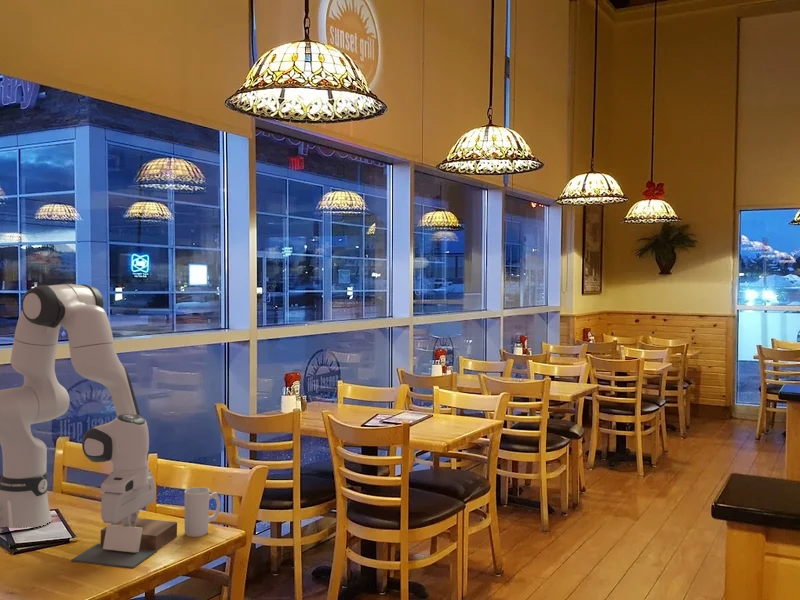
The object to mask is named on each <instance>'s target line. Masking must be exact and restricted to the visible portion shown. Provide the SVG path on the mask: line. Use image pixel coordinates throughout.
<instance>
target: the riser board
mask: <svg viewBox="0 0 800 600" xmlns="http://www.w3.org/2000/svg"><path fill="white" fill-rule="evenodd" d="M109 525H121V526H124V524H123V522H122V520H121V521H119V522H117V523H116V524H110V523H109ZM136 527H140V528H143V530H142V536H141V542H140V547H139V549H148V550H157V551H158V550H160V549H161V548H162V546H163V547H164V546H165V545H167V544H168V543H170V542H171V541H173V540H174V539H176V538H177V537H178V521H170V520H169V521H168V520H161V519H160V520H159V519H149V518H141V517H137V520H136ZM106 528H107V526H105V527H103V528H101V529H100V544H103V545H104V539H105V534H106ZM175 537H176V538H175ZM159 548H160V549H159Z"/></svg>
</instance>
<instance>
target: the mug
mask: <svg viewBox="0 0 800 600" xmlns="http://www.w3.org/2000/svg"><path fill="white" fill-rule="evenodd" d="M183 499H184V503H183V504H184V506H183V507H184V535H185V536H186V535H187V536H186V537H192V538H198V537H203V536H206V535H207V534H208V532H209V524H210V523H211V522H216V520H217V518H218V516H219V513H220V509H221V499H220V497H219V495H218V491H214V492H212V493H210V488H209V487H203V486H198V487H197V486H195V487H194V486H193V487H189V488H187V489H185V490H184V498H183ZM211 499H214V500H215V502H216V508H215V511H214V513H213V514H212V515H209V513H210V500H211Z"/></svg>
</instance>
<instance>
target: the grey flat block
mask: <svg viewBox="0 0 800 600" xmlns="http://www.w3.org/2000/svg"><path fill="white" fill-rule="evenodd" d="M106 527H107V528H106V534H105V539H104V545H103V549H107V550H116V551H125V552H134V553H135V552H139V547H140V542H141V536H142V530H143V528H140V527H130V526H121V525H110V524H106Z"/></svg>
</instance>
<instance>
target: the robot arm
mask: <svg viewBox="0 0 800 600" xmlns="http://www.w3.org/2000/svg"><path fill="white" fill-rule="evenodd" d="M61 327H62V328H63V329H64V330H65V331H66V333H67V336H68V346H69V347H68V348H69V354H70V355H69V356H70V360H71V361H70V362H71V365H72V367H73V369H74V371H75V372H76V373H77V374H79V376H81V377H82V378H85V379H86V380H88V381H92V382H95V383H98V384H101V385H103V386H104V387H105V388H106V389H107V390H108V392H109V393H110V396H111V400H112V404H113V407H114V410H115V414H116V417H115V418H114V419H112V420H111V421H109V422H107V423H104V424H100V425H96V426H94V427H91V428H88V429H87V430H86V431H85V433H84V434H83V437H82V441H81V447H82V452H83V454H84V456H85V457H86V458H87V459H88V460H89V461H90V462H93V463H105V462H110V463H112V471H111V472H110V474H109V475H108V477H107V478H106V479H104V481H103V482H101V485H100V491H101V492H103V494H102V496H101V501H100V503H101V504H100V506H101V508H100V509H101V510H100V511H101V514H100V516H101V517H100V518H101V520H102V522H103V523H104V524H109V525H110V524H116V523H117V522H119V521H121V520H122V522H123V524H124V526H130V527H136V520H137V518H139V514H140V510H142V509H144V508H145V507H147V506H149V505H150V504H152V503H154V502H155V500H156V495H157V494H156V482H155V478H154V476H153V472H152V470H150V469H149V461H148V453H149V450H150V449H149V447H150V436H149V426H148V422H147V420H146V418H144V417H143V416H142V415H141V414H140V410H139V407H138V403H137V399H136V397H135V391H134V389H133V388H134V387H133V385H132V382H131V381H132V380H131V378H130V375H129V372H128V370H127V368H126V366H125V365H124V364H123V363H122V362H121V361H120V358H119V356H118V355H117V351H116V347H115V342H114V336H113V330H112V327H111V323H110V320H109V317H108V315H107V312H106V310H105V309H104V297H103V295H102V293H101V292H100V290H99V289H98V288H97V287H95V286H92V285H88V284H84V283H83V284H76V283H75V284H73V283H61V284H53V285H51V284H50V285H38V286H35V287H32V288H30V289H28V290H27V291H25V293H24V295H23V297H22V300H21V311H20V314H19V316H18V320H17V324H16V328H15V330H14V337H13V343H12V349H11V355H10V356H11V357H10V365H11V367H12V368H13V370H14V372H15V371H16V373H18V374H20V375H22V376H23V384H22V386H17V387H10V388H3V389H0V447H1V452H2V474H0V527H6V526H7V527H10V528H13V527H16V528H17V527H18V528H22V527H23V528H25V527H26V528H27V527H38V526H41V527H44V526H46V525H48V524H50V523H51V522H52V521H53V517H52V513H51V511H50V507H49V506H50V505H49V498H48V487H49V471H48V470H47V461H48V459H47V457H48V456H47V454H48V453H47V451H48V448H47V447H48V446H47V445H46V444H45V442H44V441H43V440H41V439H40V438H38V437H35V436H33V433H32V428H31V425H34V424H39V423H45V422H50V421H52V420H54V419H57V418H60V417H61V416H64V415H65V414H66V413H67V411H68V410H69V407H70V399H71V398H70V395H69V393H68V391H67V389H66V388H65V387H64V386H63V385H62V384H60V382H59V381H58V379H57V375H56V370H55V369H56V366H55V364H56V355H57V348H58V342H59V334H60V330H61ZM49 522H50V523H49ZM47 523H48V524H47ZM43 525H44V526H43ZM38 528H39V527H38ZM2 530H3V529H0V531H2Z"/></svg>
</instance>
